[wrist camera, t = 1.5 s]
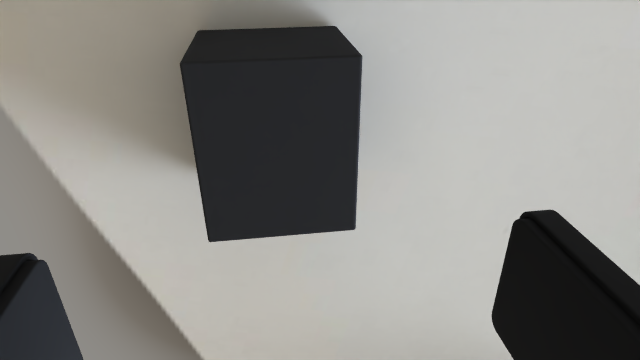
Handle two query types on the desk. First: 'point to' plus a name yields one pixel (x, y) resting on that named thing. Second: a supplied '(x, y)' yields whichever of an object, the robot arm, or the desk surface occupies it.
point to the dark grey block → (274, 129)
